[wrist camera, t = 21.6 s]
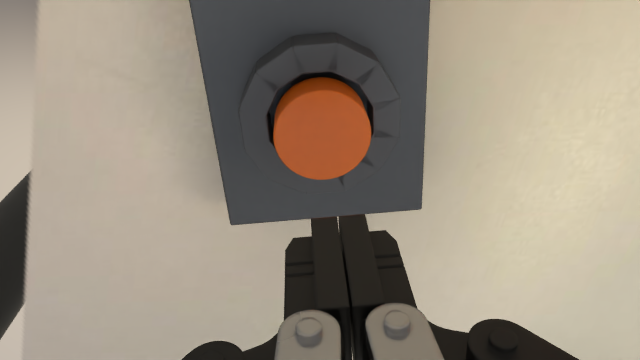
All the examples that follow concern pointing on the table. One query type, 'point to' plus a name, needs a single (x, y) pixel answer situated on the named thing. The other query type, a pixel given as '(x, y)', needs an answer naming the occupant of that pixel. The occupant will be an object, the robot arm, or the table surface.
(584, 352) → the table surface
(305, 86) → the button
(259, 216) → the control block
